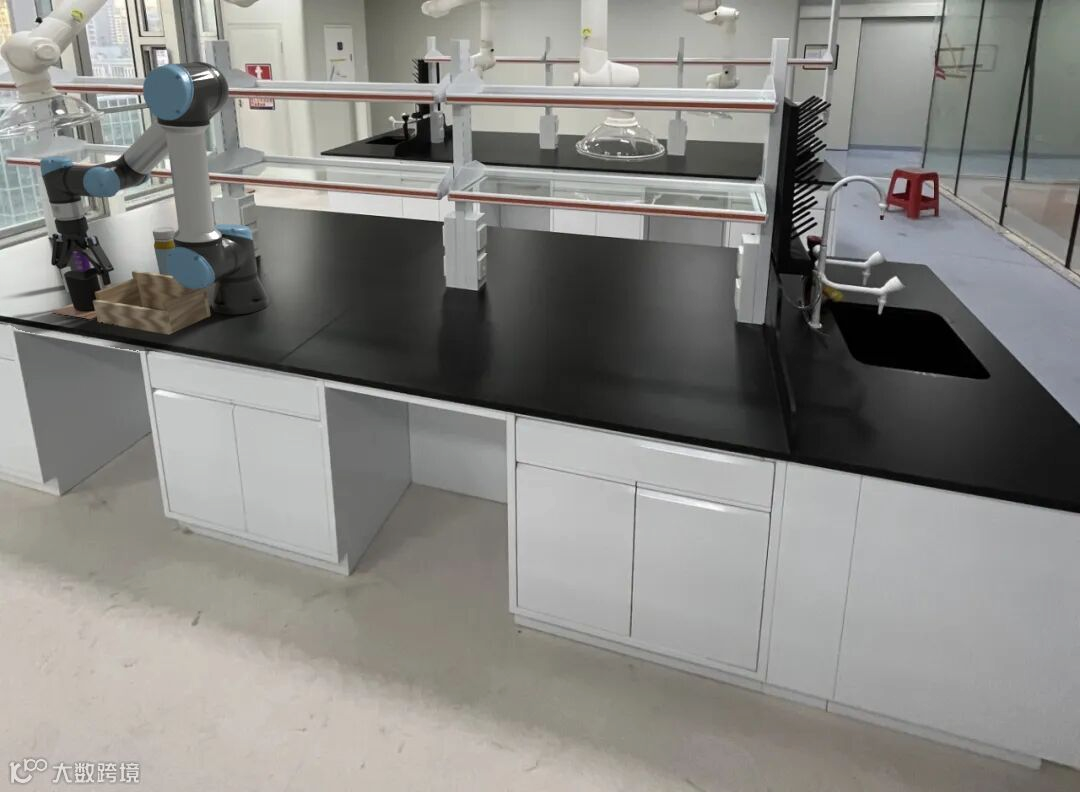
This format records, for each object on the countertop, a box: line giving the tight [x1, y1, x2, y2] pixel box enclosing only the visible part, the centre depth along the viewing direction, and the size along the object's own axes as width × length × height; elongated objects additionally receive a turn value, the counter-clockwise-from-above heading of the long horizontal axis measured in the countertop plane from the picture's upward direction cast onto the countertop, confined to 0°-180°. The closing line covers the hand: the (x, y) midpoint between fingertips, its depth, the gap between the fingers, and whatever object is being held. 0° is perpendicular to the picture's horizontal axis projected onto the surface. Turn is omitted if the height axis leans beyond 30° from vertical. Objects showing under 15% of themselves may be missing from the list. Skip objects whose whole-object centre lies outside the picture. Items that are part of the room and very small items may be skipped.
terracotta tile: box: [51, 303, 97, 320], centre depth 226 cm, size 14×14×1 cm
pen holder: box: [64, 267, 101, 311], centre depth 223 cm, size 9×9×10 cm
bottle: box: [151, 226, 176, 276], centre depth 250 cm, size 7×7×15 cm
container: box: [72, 248, 95, 271], centre depth 244 cm, size 5×5×15 cm
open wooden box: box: [93, 270, 212, 335], centre depth 217 cm, size 24×15×10 cm, turn 69°
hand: (89, 293), depth 224 cm, fingers open, 13 cm apart
